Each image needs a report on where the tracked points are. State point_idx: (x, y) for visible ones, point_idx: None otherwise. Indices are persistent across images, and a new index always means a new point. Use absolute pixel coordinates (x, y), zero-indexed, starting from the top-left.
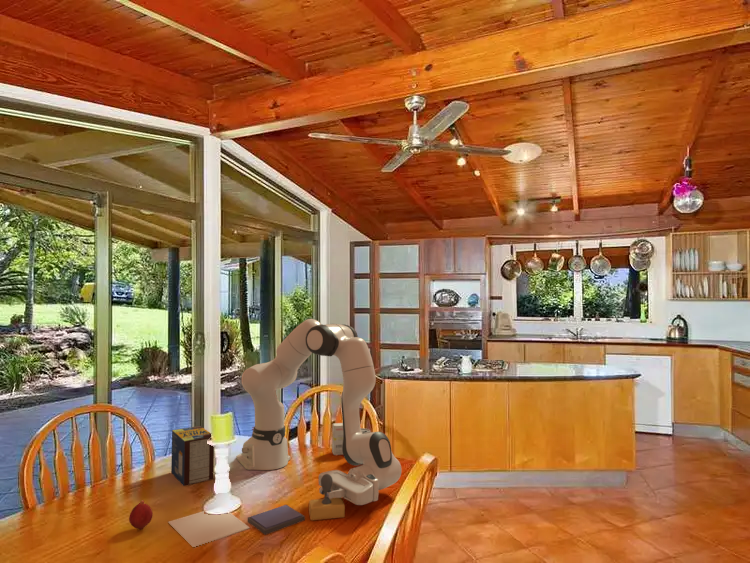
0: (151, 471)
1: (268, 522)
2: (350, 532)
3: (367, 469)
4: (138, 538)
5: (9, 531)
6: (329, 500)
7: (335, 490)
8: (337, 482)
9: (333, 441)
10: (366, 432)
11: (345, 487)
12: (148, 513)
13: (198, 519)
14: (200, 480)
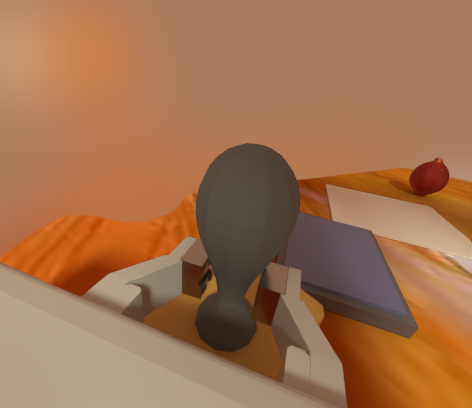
0: None
1: (312, 223)
2: (65, 283)
3: None
4: (390, 187)
5: (463, 179)
6: (206, 309)
7: (163, 264)
8: (194, 365)
9: None
10: None
11: (51, 285)
12: (420, 171)
13: (421, 218)
14: None
